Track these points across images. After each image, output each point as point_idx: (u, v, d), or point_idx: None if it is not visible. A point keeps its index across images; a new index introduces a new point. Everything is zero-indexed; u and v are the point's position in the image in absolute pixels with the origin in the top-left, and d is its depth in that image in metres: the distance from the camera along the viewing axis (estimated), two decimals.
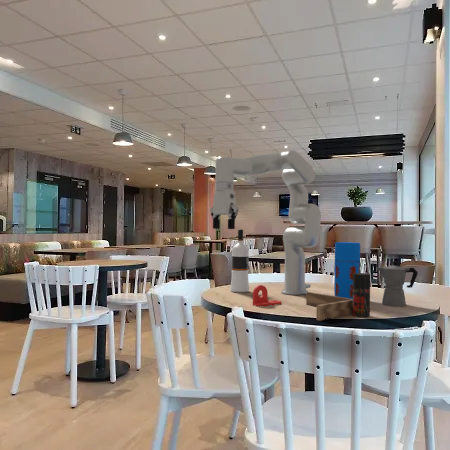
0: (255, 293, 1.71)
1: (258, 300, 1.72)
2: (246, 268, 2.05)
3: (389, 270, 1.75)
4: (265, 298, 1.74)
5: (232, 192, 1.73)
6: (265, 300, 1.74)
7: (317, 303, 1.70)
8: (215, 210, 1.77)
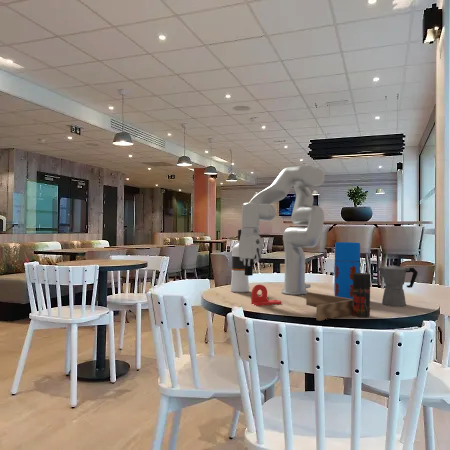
0: (253, 292, 1.73)
1: (256, 299, 1.74)
2: None
3: (389, 270, 1.75)
4: (265, 297, 1.75)
5: (258, 237, 1.78)
6: (265, 299, 1.75)
7: (317, 303, 1.70)
8: (241, 254, 1.82)
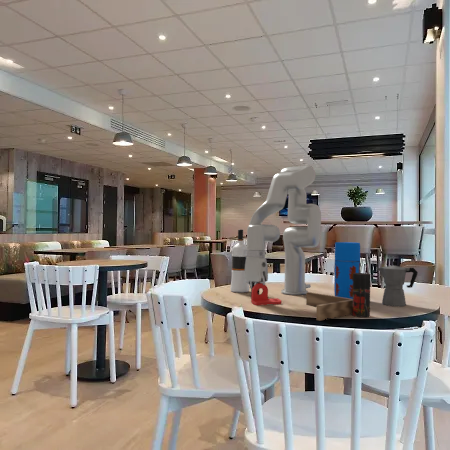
0: (253, 291, 1.74)
1: (256, 297, 1.75)
2: None
3: (389, 270, 1.75)
4: (265, 296, 1.76)
5: (264, 260, 1.76)
6: (265, 298, 1.76)
7: (317, 303, 1.70)
8: (247, 276, 1.80)
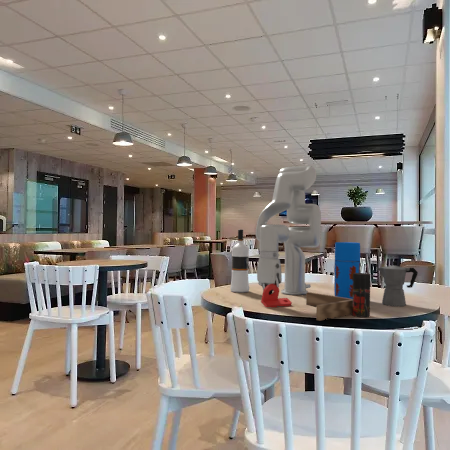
0: (265, 292, 1.68)
1: (267, 298, 1.69)
2: (246, 268, 2.05)
3: (389, 270, 1.75)
4: (275, 297, 1.71)
5: (278, 262, 1.70)
6: (275, 298, 1.71)
7: (317, 303, 1.70)
8: (259, 278, 1.74)
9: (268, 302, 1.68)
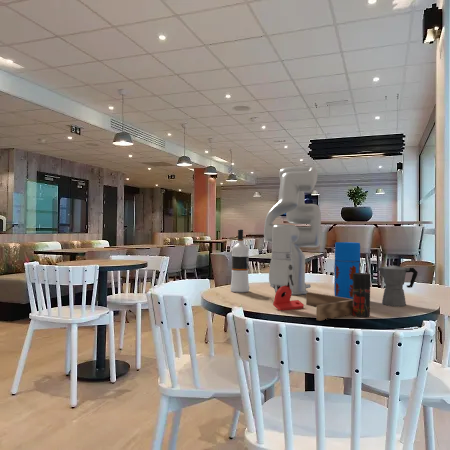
0: (278, 294, 1.62)
1: (279, 301, 1.64)
2: (246, 268, 2.05)
3: (389, 270, 1.75)
4: (287, 299, 1.66)
5: (291, 263, 1.65)
6: (287, 301, 1.66)
7: (317, 303, 1.70)
8: (271, 280, 1.69)
9: (281, 305, 1.63)
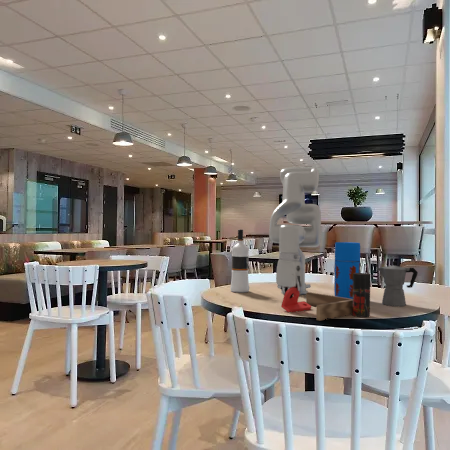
0: (287, 296, 1.59)
1: (287, 303, 1.61)
2: (246, 268, 2.05)
3: (389, 270, 1.75)
4: (295, 301, 1.63)
5: (298, 264, 1.61)
6: (295, 302, 1.63)
7: (317, 303, 1.70)
8: (279, 281, 1.66)
9: (289, 306, 1.60)
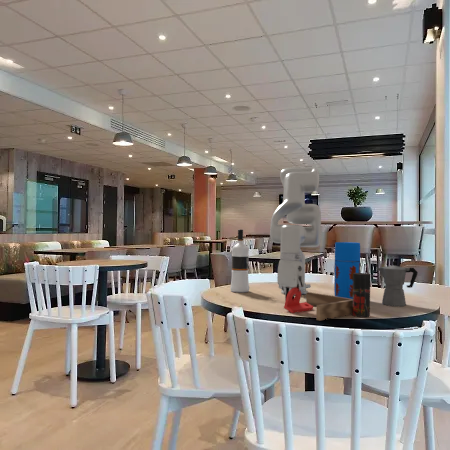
0: (289, 296, 1.58)
1: (290, 303, 1.60)
2: (246, 268, 2.05)
3: (389, 270, 1.75)
4: (297, 301, 1.62)
5: (300, 264, 1.61)
6: (297, 303, 1.62)
7: (317, 303, 1.70)
8: (280, 281, 1.65)
9: (292, 307, 1.59)
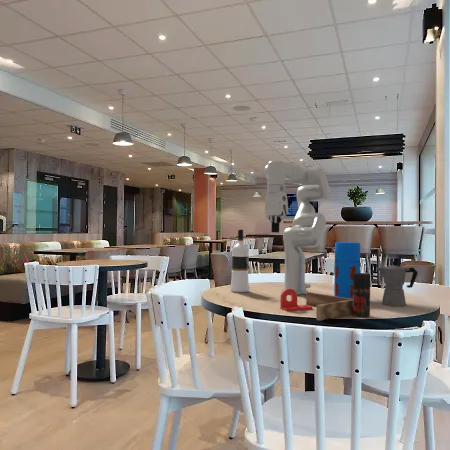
0: (283, 297, 1.63)
1: (286, 304, 1.63)
2: (246, 268, 2.05)
3: (389, 270, 1.75)
4: (294, 302, 1.65)
5: (284, 194, 1.81)
6: (294, 304, 1.65)
7: (317, 303, 1.70)
8: (267, 212, 1.85)
9: (288, 307, 1.62)
